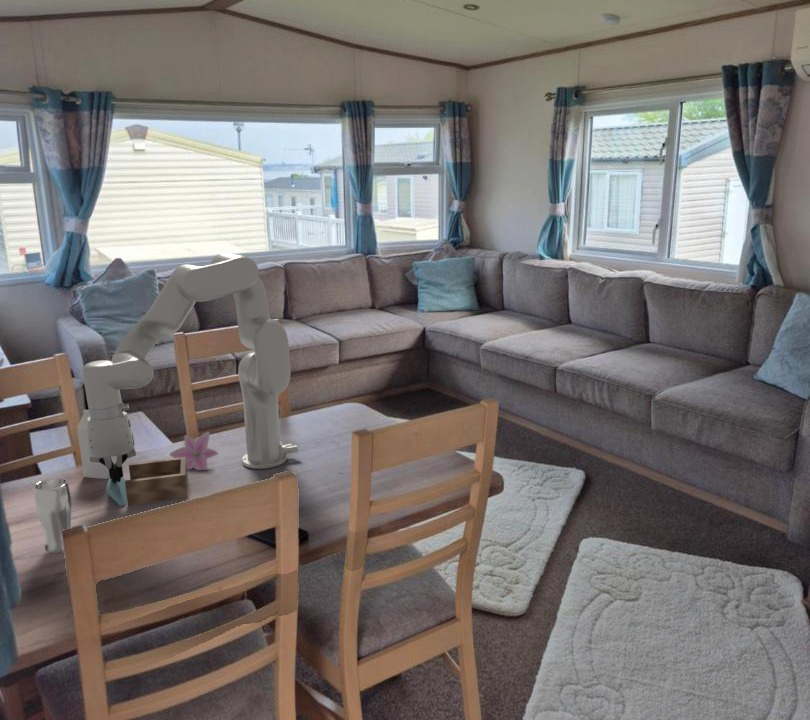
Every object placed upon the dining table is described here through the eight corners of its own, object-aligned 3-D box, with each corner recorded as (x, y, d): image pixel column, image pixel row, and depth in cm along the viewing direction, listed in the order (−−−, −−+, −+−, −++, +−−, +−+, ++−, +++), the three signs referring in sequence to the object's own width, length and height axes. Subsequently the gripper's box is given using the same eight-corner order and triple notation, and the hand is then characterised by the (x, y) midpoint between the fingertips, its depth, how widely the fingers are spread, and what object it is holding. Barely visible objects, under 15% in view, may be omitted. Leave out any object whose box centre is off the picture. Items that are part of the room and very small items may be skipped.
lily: (167, 472, 193) (162, 450, 187) (195, 444, 201) (191, 422, 194) (201, 490, 190) (197, 469, 183) (229, 461, 198) (225, 440, 191)
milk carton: (107, 483, 184) (98, 415, 179) (84, 481, 186) (74, 414, 181) (123, 472, 191) (115, 407, 186) (100, 470, 192) (91, 405, 188)
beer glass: (54, 557, 148) (44, 493, 144) (36, 548, 152) (25, 486, 148) (84, 543, 154) (75, 481, 150) (65, 535, 157) (56, 474, 154)
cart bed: (188, 481, 184) (185, 456, 182) (188, 501, 173) (185, 474, 171) (132, 489, 180) (129, 463, 179) (128, 509, 169) (125, 482, 167)
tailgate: (130, 485, 180) (114, 468, 178) (126, 505, 169) (109, 488, 167) (126, 487, 180) (110, 471, 178) (122, 508, 169) (105, 491, 167)
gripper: (139, 402, 173) (149, 469, 178) (74, 410, 169) (86, 479, 174) (137, 412, 166) (148, 481, 171) (70, 420, 162) (83, 491, 167)
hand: (117, 480), depth 173 cm, fingers closed
